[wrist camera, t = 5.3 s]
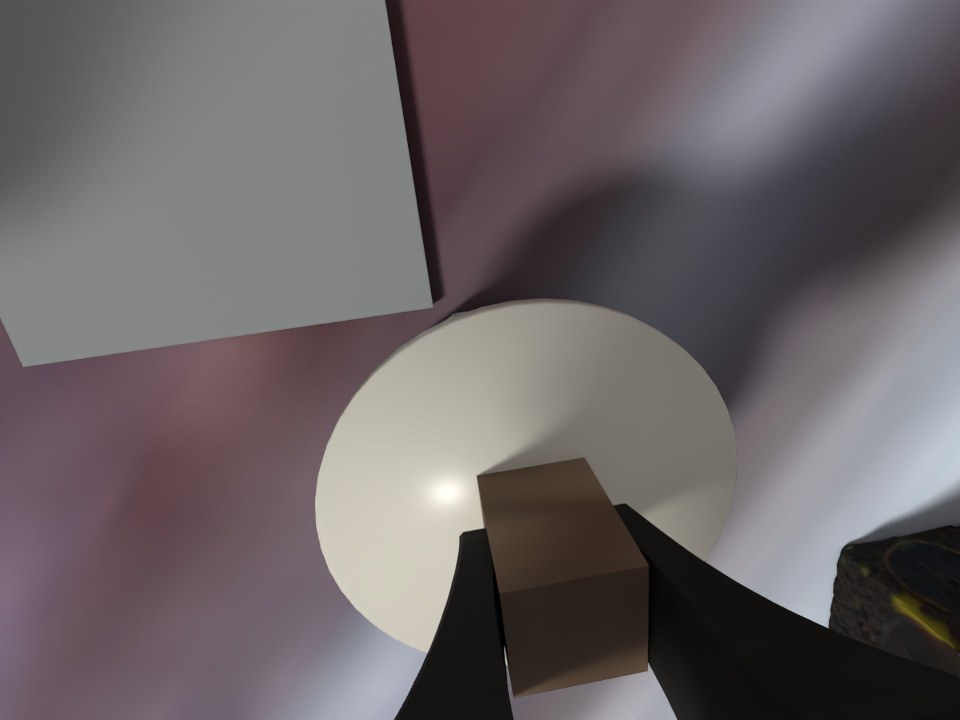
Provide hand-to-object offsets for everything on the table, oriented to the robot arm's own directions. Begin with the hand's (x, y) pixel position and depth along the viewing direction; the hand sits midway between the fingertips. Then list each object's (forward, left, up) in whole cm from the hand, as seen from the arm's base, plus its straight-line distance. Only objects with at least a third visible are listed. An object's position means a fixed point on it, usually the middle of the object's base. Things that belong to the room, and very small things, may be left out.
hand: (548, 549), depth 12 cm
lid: (0, 0, -2) cm, 2 cm away
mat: (-9, +12, -8) cm, 17 cm away
